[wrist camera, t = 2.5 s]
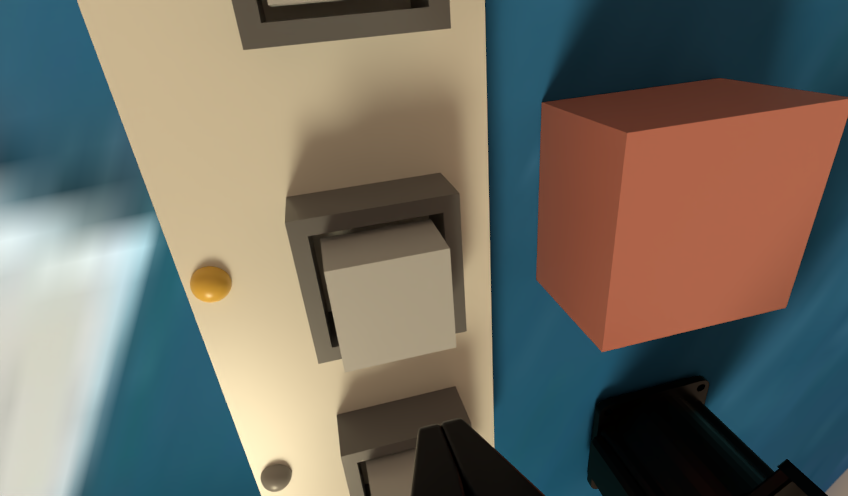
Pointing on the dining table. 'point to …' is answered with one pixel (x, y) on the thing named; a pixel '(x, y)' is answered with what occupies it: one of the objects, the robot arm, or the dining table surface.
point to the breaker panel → (311, 204)
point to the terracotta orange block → (680, 203)
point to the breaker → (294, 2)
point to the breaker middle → (390, 293)
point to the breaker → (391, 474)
